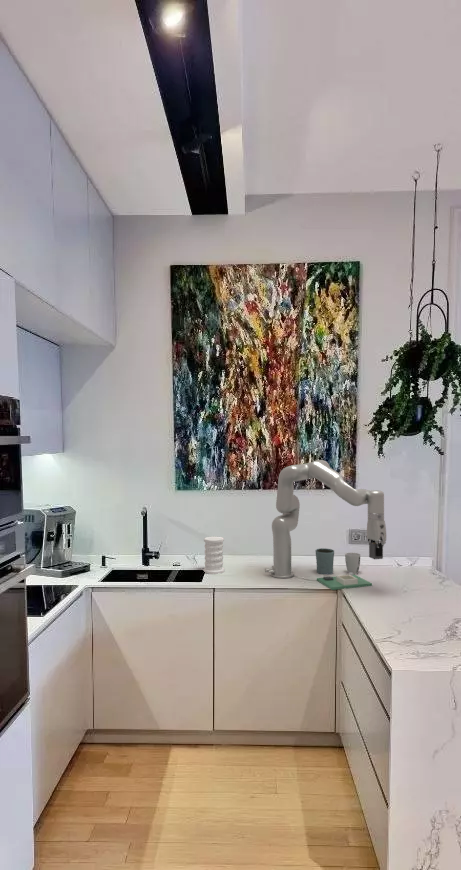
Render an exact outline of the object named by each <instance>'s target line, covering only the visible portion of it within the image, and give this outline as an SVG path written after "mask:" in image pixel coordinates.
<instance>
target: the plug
mask: <svg viewBox="0 0 461 870" xmlns="http://www.w3.org/2000/svg"><path fill="white" fill-rule="evenodd" d="M378 543H379V544H380V542H378ZM368 547H369V549H368V554H369V555H368V556H369V558H371V559H373V560H383V559H384V547H383V548H382V556H376V548H377V545H376V542H369V541H368Z"/></svg>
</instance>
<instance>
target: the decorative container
mask: <svg viewBox="0 0 461 870" xmlns="http://www.w3.org/2000/svg"><path fill="white" fill-rule="evenodd" d="M224 541H225V538H224V537H222V536H214V535H213V536H206V537H204V538H203V542H204V548H205V549H204V554H205V555H204V565H205V566H204V568H203V570H202V571H204V572H205V573H204V572H203V573H204V574H207V573H209V574H208V575H219V574H218V573H221V574H223V573H225V572H226V571H225V570H226V569H225V567H223V565H224V562H223V559H224V556H223V555H224V554H223V553H224V549H223V547H224V544H223V542H224Z"/></svg>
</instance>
